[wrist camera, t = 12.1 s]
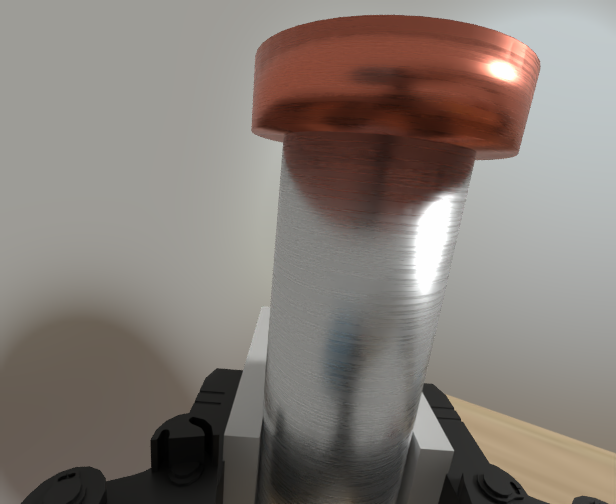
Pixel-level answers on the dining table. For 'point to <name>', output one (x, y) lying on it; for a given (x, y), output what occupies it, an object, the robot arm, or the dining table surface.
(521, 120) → the lock pin
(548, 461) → the dining table surface
